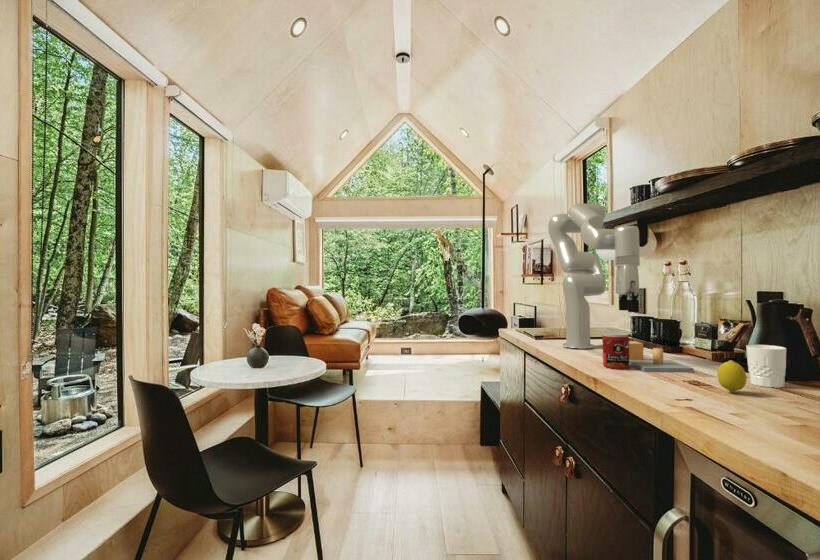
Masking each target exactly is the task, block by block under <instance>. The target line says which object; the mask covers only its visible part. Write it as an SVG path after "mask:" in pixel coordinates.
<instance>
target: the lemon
mask: <svg viewBox="0 0 820 560" xmlns="http://www.w3.org/2000/svg"><path fill="white" fill-rule="evenodd" d="M716 374H717V376H716V377H717V381H718V383H719V385H720V386H721V387H722V388H724V389H725V390H726V391H728V392H729V393H732V394H734V393H735V392H736V391H740V390H742V389H744V387H745V386H746V384H747V373H746V371H745V368H744V367H743V365H740V364H739V363H737V362H735V361H734V360H728V361H724V362H723V363H721V364H720V365H719V367H718V369H717V373H716Z"/></svg>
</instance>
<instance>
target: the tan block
mask: <svg viewBox="0 0 820 560" xmlns="http://www.w3.org/2000/svg"><path fill="white" fill-rule="evenodd" d="M629 360H645V359H644V343H641V342H639V341H635V340H633V341H632V340H629Z"/></svg>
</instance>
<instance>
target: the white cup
mask: <svg viewBox="0 0 820 560" xmlns="http://www.w3.org/2000/svg"><path fill="white" fill-rule="evenodd" d="M745 347H746V358H747V360H746V361H747V367H748V368H747V369H748V373H749V383H750V384H751V385H754V386H759V387H765V388H772V387H774V388H773V389H775V388H777V389H779V388H781V387H782V388H785V385H786V384H785V383H786V382H785V381H786V380H785V378H786V368H787V347H784V346H779V345H772V344H771V345H769V344H746V345H745Z"/></svg>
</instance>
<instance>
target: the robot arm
mask: <svg viewBox="0 0 820 560" xmlns="http://www.w3.org/2000/svg"><path fill="white" fill-rule="evenodd" d="M605 218H606V210H605V208H604V207H603V205H601V204H599V203H575V204H573V205H572V206H570V208H569V209H568V211H567V213H558V214H555V215H552V216H551V218H550V219H549V221H548V225H547V226H548V227H547V229H548V230H547V231H548V235H549V237H550V238H549V239H550V240H551V242H552V243H553V245H554V248H555V250H556V254H557V257H558V262H559V264H560V265H559V266H560V268H561V270H562V271H563V272H564V273H565V274H568V275H566V276H565V277H563V279H562V289H563V295H564V301H565V303H564V305H565V337H566V338H565V340H566V342H564V343H562V346H563V345H564V346H567V347H574V348H593V349H595V348H594V347H595V344H593V343H591V313H590V312H591V309H590V304H589V302H588V300H587V298H586V297H585V296H587V297H588V296H592V297H593V296H601V295H603V294H605V291H606V289H607V283H606V278H605V274H604V272H603V269H602V266H601V262H600V261H599V258H598V256H597V255H596V254H594V253H593V252H589V251H579V249H578V247H577V245H576V242H575V240H574V239H573V238H572V237H571V236H569V235H568V233H569V234H570V233H571V234H576V233H577V234H580V238H581V240H582V242H584V244H585V245H587V246H588V247H589V248H591V249H593V250H597V251H599V250H603V251H604V250H607V251H608V250H613V251H614V264H615V265H614V267H616V274H615V293H616V294H617V295H618V310H619V311H628V312H627V313H639V312H640V306H639V305H640V303H639V299H640V297H639V294H640V279H639V278H640V276H639V268H638V267H639V266H641V259H640V258H641V256H640V254H641V252H640V230H639V227H638V226H636V225H623V226H622V225H621V226H619V227H617V228H603V226H604V219H605Z"/></svg>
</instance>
